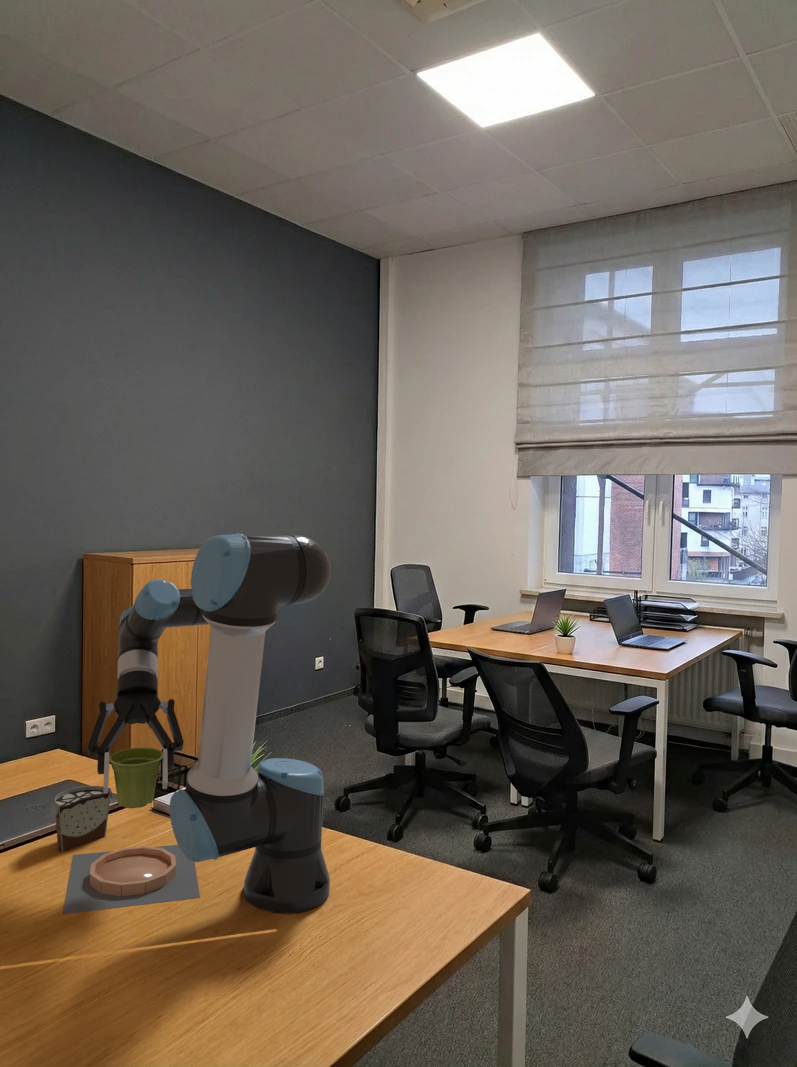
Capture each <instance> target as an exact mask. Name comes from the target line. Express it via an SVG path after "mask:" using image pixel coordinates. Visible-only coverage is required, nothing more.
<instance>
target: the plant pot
mask: <svg viewBox="0 0 797 1067" xmlns="http://www.w3.org/2000/svg"><path fill="white" fill-rule="evenodd" d="M162 758H163V751H162V750H160V749H158V748H152V747H132V748H126V749H120V750H118V751H115V752H113V753H111V754H109V763H111V768H112V770H113V775H114V783H115V792H116V799H117V805H118V806H119V807H125V808H127V809H139V808H144V807H146V806H147V805H149V804H152V803H153V802H154V798H155V791H156V790H155V789H156V785H157V784H156V783H157V778H158V773H159V772H158V771H159V767H160V766H161V761H162Z"/></svg>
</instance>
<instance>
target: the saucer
mask: <svg viewBox="0 0 797 1067" xmlns="http://www.w3.org/2000/svg"><path fill="white" fill-rule="evenodd" d="M156 847H157V846H148V845H141V846H130V847H122V848H118V849H117V850H112V851H113V852H110V853H107V854H104V855H102V856H101V857H100V858H98V859H97V860H96V861H94V862H93V863H92V864H91V869H90V886H91V887H93V888H94V889H96V890H97V891H98V892H100V893H103V894H109V895H116V896H128V895H137V894H145V893H148V892H151V891H153V890H156V889H158V888H161V887H164V886H166V885H167V884H168V883H169V882H170V881H171V880H172V879H173V878H174V877H175V876H176V859H175V855H174V854H172V853H170V852H168V851H167V850H165V849H163V848H156Z"/></svg>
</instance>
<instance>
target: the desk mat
mask: <svg viewBox="0 0 797 1067" xmlns="http://www.w3.org/2000/svg"><path fill="white" fill-rule="evenodd" d="M155 847H156V848H163V849H165V850H167V851H168V852H170V853H172V854H174V855H175V859H176V876H175V877H174V878H173V879H172V880H171V881H170V882H169V883H168V884H167V885H166V886H164V887H161V888H158V889H156V890H153V891H151V892H148V893H145V894H137V895H128V896H116V895H109V894H103V893H100V892H98V891H97V890H96V889H94V888H93V887H91V886H90V869H91V864H92V863H93V862H94V861H96V860H97V859H98V858H100V857H101V856H102V855H104V854H107V853H110V852H113V851H114V850H110V851H101V852H89V853H79V854H73V855H72V858H71V863H70V869H69V876H68V881H67V887H66V888H67V889H66V892H65V893H66V894H65V899H64V904H63V905H64V906H63V911H62V915H68V914H77V913H83V912H84V913H85V912H93V911H100V910H107V909H108V910H110V909H119V908H126V907H133V906H135V907H137V906H141V905H152V904H159V903H161V904H162V903H167V902H169V903H170V902H177V901H184V900H185V901H186V900H193V899H200V898H201V893H200V888H199V881H198V876H197V869H196V862H194V861H191V860H189V859H188V858H187V857H186V856H185V855H184V854H183V852H182V851H181V849H180V847H179V846H178V844H172V845H161V846H155Z"/></svg>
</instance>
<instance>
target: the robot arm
mask: <svg viewBox="0 0 797 1067" xmlns="http://www.w3.org/2000/svg"><path fill="white" fill-rule="evenodd" d="M193 561H194V562H193V564H192V569H191V576H190V587H191V588H178V587H177V586H176V585H175V584H174V583H172V582H171V581H166V580H164V579H160V578H159V579H153V580H149V581H148V582H147V583H146V584H144V585H143V587H142V589H140V591H139V593H138V594H137V595H136V598H135V600H134V603H133V606H131V607H129V608H128V609H127V610H124V611H123V612H122V613H121V615H120V618H119V625H118V628H117V630H118V650H117V651H118V654H117V656H118V657H117V658H118V659H117V676H116V677H117V681H116V682H117V683H116V699H115V700H114V702H113V703H106V702H105V701H100V702H99V703H98V715H97V719H96V722H95V725H94V727H93V731H92V732H91V737H90V739H89V743H88V745H87V755H88V756H89V757H96V758H97V764H96V765H97V769H96V770H97V774H98V775H103V783H102V784H103V785H102V786H103V794H106V793H108V788H109V781H110V780H109V777H110V761H109V756H110V750H111V748H112V747H113V745H114V744H115V742H116V740H117V739H118V737H119V735H120V734H121V732H122V731H123V730H124V729H125V728H126V726H127V724H128V725H134V724H141V725H142V724H143V725H144V724H147V726H148V728H150V729H151V730H152V732H153V733H154V735H155V737H156V739H157V740H158V742H159V743H160V745H161V747H162V748H163V749H162V752H163V758H162V759H161V761H162V767H161V768H162V790H167V789H168V783H169V782H168V780H169V779H168V778H169V777H168V770H169V771H170V770H173V769H174V765H175V756H174V755H175V753H176V752H179V751H180V752H181V751H182V750H183V749H184V743H185V742H184V739H183V738H184V737H183V734H182V732H181V728H180V726H179V723H178V718H177V716H176V713H175V700H174V699H173V698H170V699H168V701H165V700H164V701H162V700H160V698H159V693H158V692H159V691H158V690H159V689H158V687H159V686H158V684H159V681H158V675H159V674H158V672H159V670H158V669H159V666H158V665H159V664H158V662H159V659H158V657H159V656H158V655H159V654H158V650H159V648H158V647H159V646H158V643H159V640H160V638H161V636H163V633H164V632H165V630H166V629H167V628H179V627H193V626H203V625H209V626H210V633H209V634H210V636H209V644H208V645H209V646H208V654H207V656H208V657H207V664H206V665H207V666H206V673H205V674H206V675H205V686H204V687H205V688H204V696H203V704H202V705H203V707H202V714H201V715H202V716H201V717H202V718H201V726H200V738H199V747H198V756H197V764H195V765H193V766H192V767H191V768H190V769H189V770H188V772H187V774H186V781H185V782H186V784H185V788H184V789H178V790H177V791H175V792H174V793H173V794H172V795H171V797H170V800H169V818H170V825H171V828H172V832H173V835H174V838H175V841H176V843H177V845H178V846H179V847H180V849H181V851H182V852H183V854H184V855H185V856H186V857H187V858H188V859H189V860H191V861H194V862H195V863H200V862H201V863H202V862H204V861H210V860H218V859H219V858H222V857H225V856H229V855H233V854H235V853H239V852H243V851H246V850H249V849H252V848H253V849H254V848H255V849H254V852H253V856H252V858H251V861H250V864H249V866H248V870H247V872H246V874H245V877H244V884H243V896H244V898H245V900H246V901H247V902H248V903H249V904H250V905H251V906H253V907H255V908H257V909H260V910H263V911H268V912H272V913H274V914H295V913H302V912H305V911H309V910H312V909H314V908H316V907H318V906H320V905H321V904H322V903H324V902H326V900H327V898H329V894H330V885H331V883H330V882H331V881H330V880H331V878H330V874H329V871H328V868H327V864H326V862H325V861H326V860H325V857H324V853H323V850H322V836H323V835H322V833H323V832H322V831H323V806H324V795H325V790H324V787H325V786H324V776H323V772H322V770H320V768H319V767H317V766H316V765H314V764H312V763H310V762H308V761H303V760H301V759H300V760H298V759H294V758H285V757H283V758H279V757H274V758H268V759H263V760H262V761H260V762H259V763H258V766H257V768H256V770H255V769H254V767H252V766H251V765H252V759H253V758H252V757H253V748H254V747H253V746H254V739H255V738H254V737H255V731H256V730H255V729H256V722H257V721H256V720H257V711H258V703H259V693H260V685H261V684H260V683H261V676H262V675H261V674H262V665H263V658H264V649H265V638H266V631H267V630H268V629H269V628H271V627H272V626H273V625H275V623H276V621H277V618H278V615H277V614H278V608H279V607H280V606H281V607H282V606H283V607H284V606H292V605H300V604H301V605H302V604H306V603H308V602H311V601H314V600H315V599H317V598H318V597H319V596H320V595H322V594H323V593H324V592H325V591H326V589H327V587H328V585H329V583H330V580H331V573H332V569H331V568H332V567H331V562H330V559H329V557H328V554H327V552H326V551H325V550H324V548H323V547H322V546H321V545H320V544H318V543H317V542H316V541H314V540H313V539H311V538H309V537H307V536H305V535H300V534H299V535H298V534H289V533H287V534H267V533H266V534H264V533H239V532H236V533H232V534H220V535H219V534H218V535H214V536H212V537H209V538H208V539H207V540H206V541H205V542H204V543H203V544H202V545H201V547H200V548H199V549H198V551H197V553H196V556H195V558H194V560H193ZM159 709H161V710H162V712H163V713H164V715H166V719H167V722H168V726H169V730H170V732H171V737H172V738H173V741H172V739H171V738H170V737H169V735H168V733H167V732H166V730H165V729H164V727H163V725H162V724H161V722H160V721H159V719H158V716H157V715H156V714H157V712H159ZM113 711H114V712H115V713H116V714H117V715H118V716H117V718H116V721H115V722H114V724H113V726H112V727H111V728H110V730H109V731H108V732H107V734H106V736H105V738H104V739H103V741H102V743H101V744H100V746H99V743H100V739H101V737H102V734H103V731H104V728H105V725H106V722H107V717H109V716H110V715H111V713H112V712H113Z"/></svg>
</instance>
